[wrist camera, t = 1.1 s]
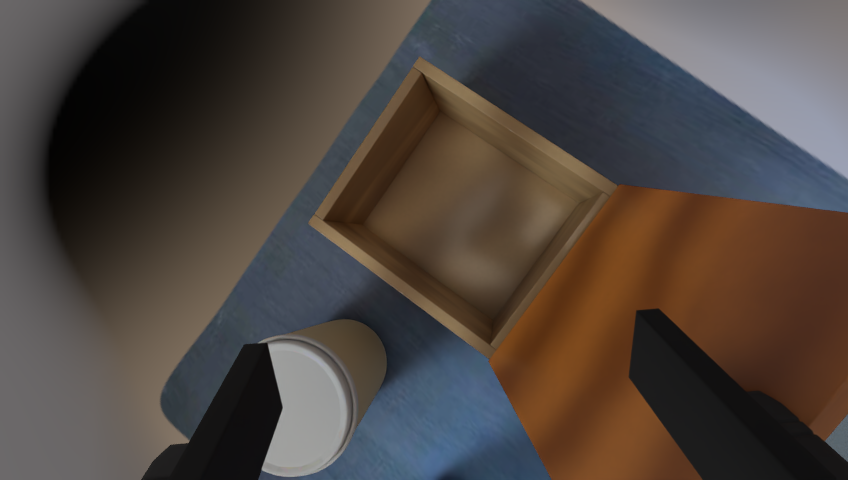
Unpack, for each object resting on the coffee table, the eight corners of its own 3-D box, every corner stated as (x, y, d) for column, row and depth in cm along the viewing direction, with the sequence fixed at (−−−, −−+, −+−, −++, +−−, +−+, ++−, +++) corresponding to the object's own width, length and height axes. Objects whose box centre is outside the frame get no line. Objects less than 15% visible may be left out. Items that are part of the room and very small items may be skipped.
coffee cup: (300, 306, 42) (221, 332, 30) (399, 313, 40) (355, 344, 28) (296, 406, 42) (215, 471, 30) (394, 417, 40) (349, 491, 28)
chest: (353, 227, 41) (307, 223, 31) (439, 101, 39) (419, 56, 30) (495, 331, 39) (492, 362, 29) (591, 201, 37) (622, 188, 28)
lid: (632, 633, 12) (653, 643, 12) (975, 227, 11) (994, 245, 11) (487, 360, 28) (497, 367, 29) (619, 183, 27) (629, 191, 27)
